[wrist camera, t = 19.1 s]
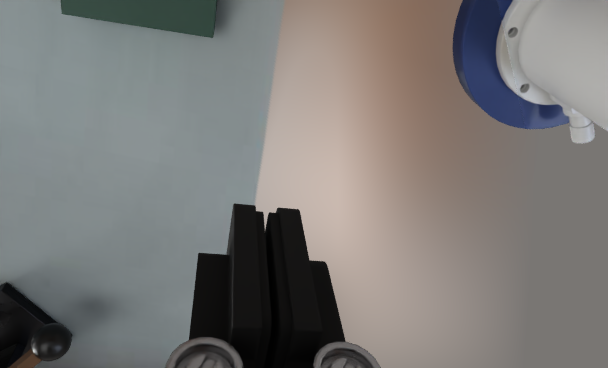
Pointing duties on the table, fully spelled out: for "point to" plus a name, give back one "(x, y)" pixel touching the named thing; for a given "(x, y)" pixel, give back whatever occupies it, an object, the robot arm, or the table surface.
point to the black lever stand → (17, 324)
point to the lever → (46, 346)
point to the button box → (150, 13)
